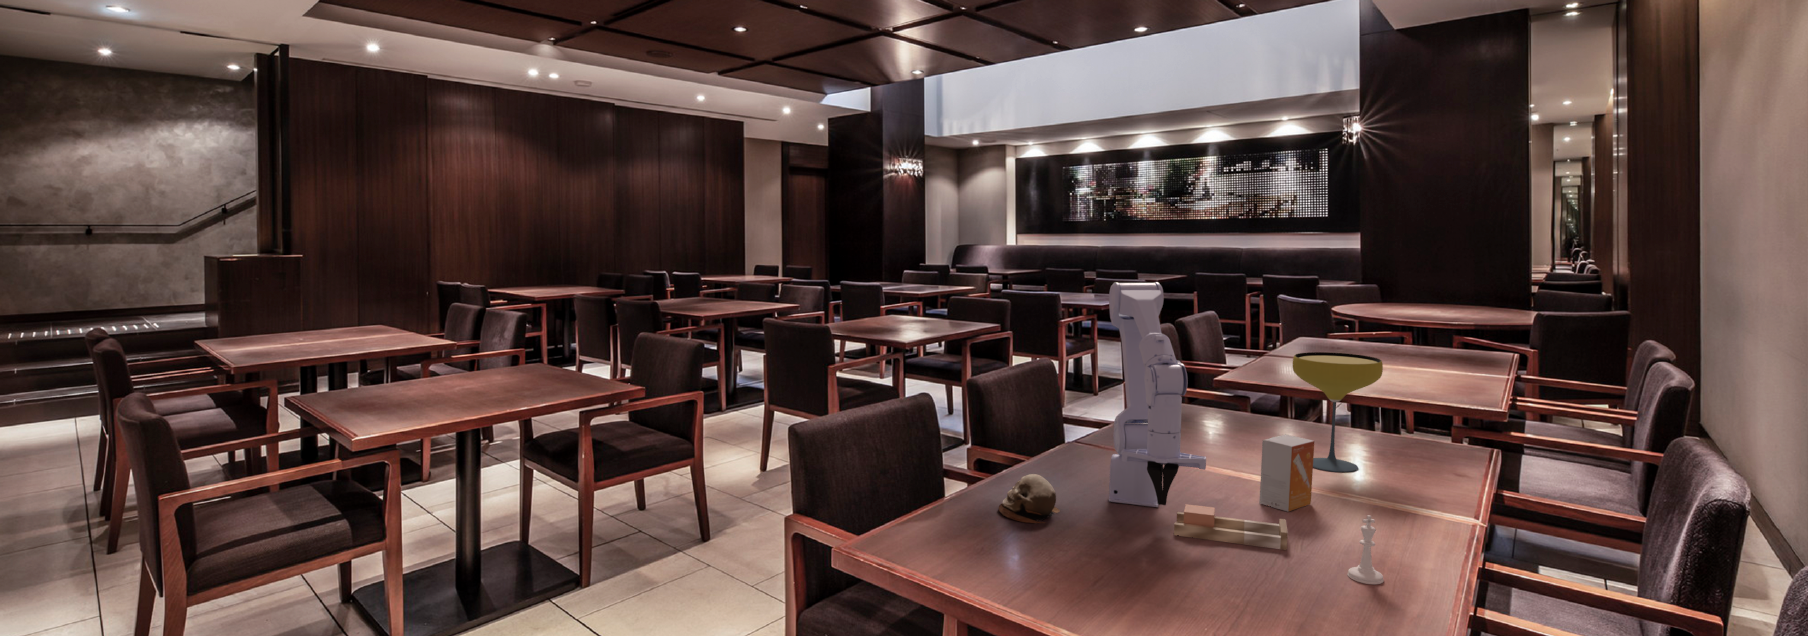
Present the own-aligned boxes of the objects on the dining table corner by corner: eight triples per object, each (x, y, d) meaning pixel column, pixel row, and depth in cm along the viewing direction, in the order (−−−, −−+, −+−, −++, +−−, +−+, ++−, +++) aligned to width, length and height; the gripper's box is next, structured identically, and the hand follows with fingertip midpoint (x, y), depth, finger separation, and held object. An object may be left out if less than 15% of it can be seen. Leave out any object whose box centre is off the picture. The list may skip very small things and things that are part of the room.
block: (1183, 533, 146) (1184, 511, 145) (1184, 525, 150) (1185, 504, 149) (1213, 537, 144) (1214, 515, 143) (1214, 529, 148) (1214, 507, 147)
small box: (1288, 512, 156) (1292, 446, 155) (1258, 503, 162) (1261, 439, 160) (1312, 504, 161) (1315, 440, 160) (1281, 496, 166) (1284, 433, 165)
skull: (982, 510, 156) (1002, 463, 160) (1005, 534, 162) (1024, 488, 167) (1037, 522, 148) (1056, 473, 152) (1059, 547, 154) (1076, 499, 159)
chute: (1173, 535, 145) (1174, 518, 145) (1176, 522, 152) (1177, 506, 151) (1286, 550, 138) (1287, 533, 138) (1284, 535, 145) (1285, 519, 144)
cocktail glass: (1277, 453, 198) (1282, 351, 195) (1357, 456, 195) (1363, 352, 192) (1303, 475, 180) (1308, 363, 177) (1391, 478, 177) (1398, 365, 175)
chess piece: (1340, 571, 129) (1343, 510, 128) (1370, 570, 130) (1373, 509, 129) (1360, 585, 125) (1364, 521, 123) (1390, 584, 125) (1394, 520, 124)
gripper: (1119, 431, 146) (1118, 505, 148) (1205, 438, 141) (1203, 515, 142) (1125, 423, 153) (1123, 493, 154) (1207, 429, 147) (1205, 503, 149)
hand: (1162, 503), depth 149 cm, fingers closed
